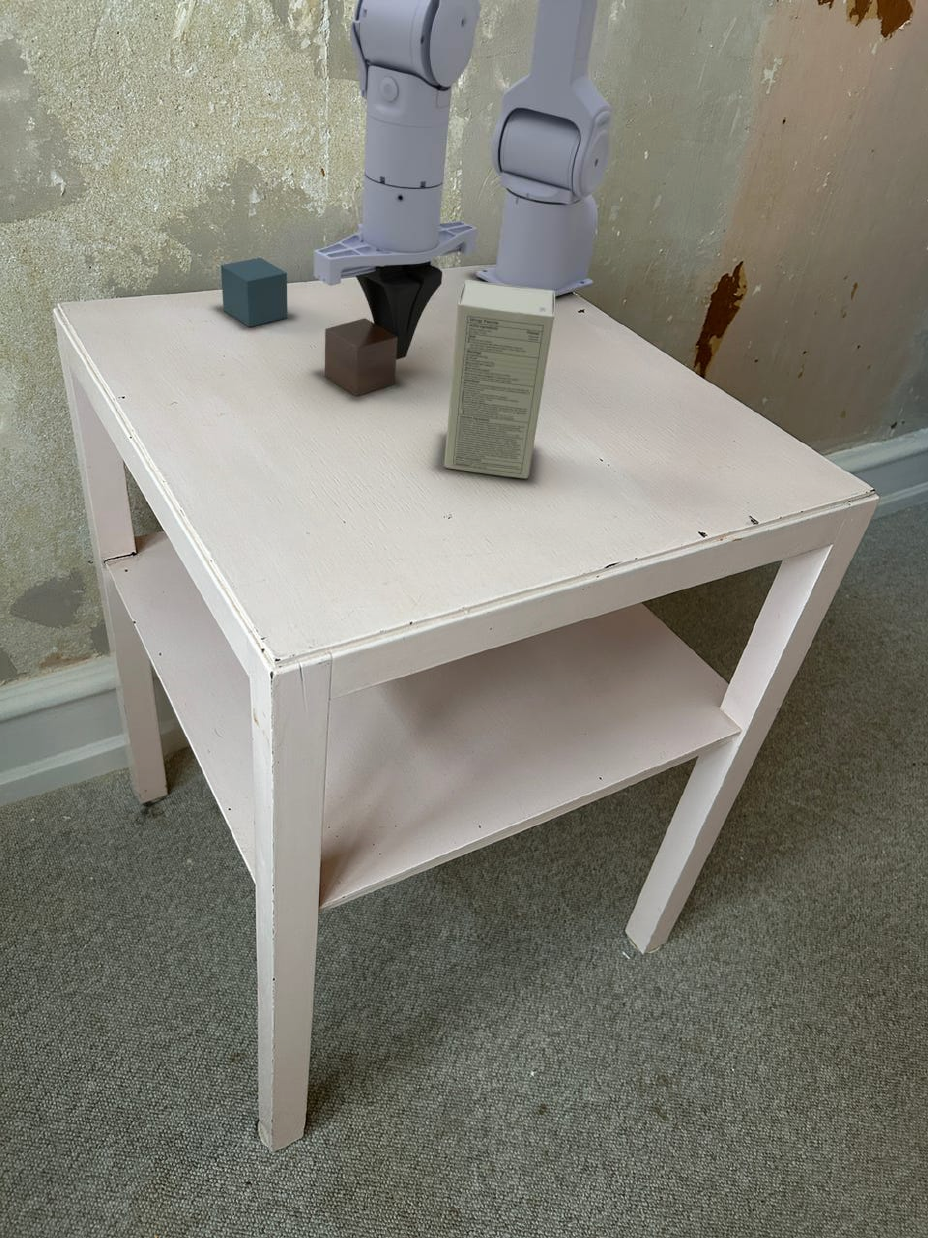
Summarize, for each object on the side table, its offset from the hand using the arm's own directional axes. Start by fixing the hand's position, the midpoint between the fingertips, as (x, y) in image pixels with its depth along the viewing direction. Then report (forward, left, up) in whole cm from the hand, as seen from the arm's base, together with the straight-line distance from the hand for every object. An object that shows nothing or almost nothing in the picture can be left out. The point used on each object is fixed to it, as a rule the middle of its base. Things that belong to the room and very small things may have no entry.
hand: (392, 353), depth 77 cm
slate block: (+3, -15, -1) cm, 15 cm away
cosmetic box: (+3, +14, -2) cm, 15 cm away
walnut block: (+3, 0, -1) cm, 4 cm away
